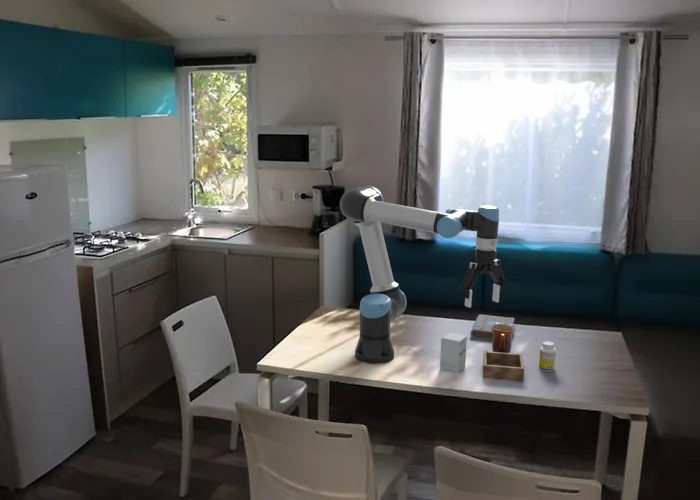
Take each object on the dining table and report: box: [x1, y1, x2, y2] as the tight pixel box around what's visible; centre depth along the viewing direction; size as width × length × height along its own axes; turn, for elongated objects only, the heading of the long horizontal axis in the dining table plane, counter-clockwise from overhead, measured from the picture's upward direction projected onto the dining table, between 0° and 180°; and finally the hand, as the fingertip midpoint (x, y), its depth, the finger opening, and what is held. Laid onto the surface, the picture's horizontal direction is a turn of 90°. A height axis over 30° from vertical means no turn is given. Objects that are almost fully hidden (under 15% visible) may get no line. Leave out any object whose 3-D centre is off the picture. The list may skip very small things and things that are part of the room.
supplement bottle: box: [538, 340, 557, 373], centre depth 243 cm, size 6×6×10 cm
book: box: [470, 314, 515, 341], centre depth 282 cm, size 21×16×5 cm
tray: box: [482, 350, 525, 382], centre depth 240 cm, size 14×14×5 cm
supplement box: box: [439, 332, 468, 375], centre depth 242 cm, size 7×7×13 cm
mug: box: [491, 324, 515, 353], centre depth 257 cm, size 12×9×10 cm
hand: (481, 304), depth 246 cm, fingers open, 13 cm apart
